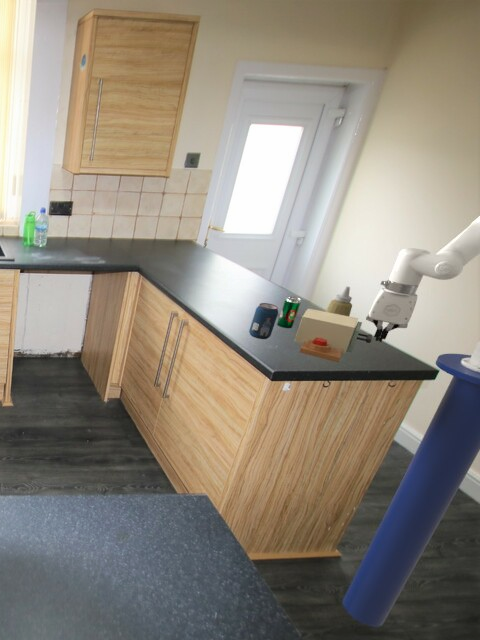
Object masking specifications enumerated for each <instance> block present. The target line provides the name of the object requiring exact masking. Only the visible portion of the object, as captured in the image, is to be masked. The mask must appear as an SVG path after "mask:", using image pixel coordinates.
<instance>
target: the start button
mask: <svg viewBox="0 0 480 640" xmlns="http://www.w3.org/2000/svg"><path fill="white" fill-rule="evenodd" d="M313 343H314V344H316V345H320V346H326V344H327V340H325V339H322V338H315V339H314V342H313Z"/></svg>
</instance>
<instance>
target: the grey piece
mask: <svg viewBox="0 0 480 640" xmlns="http://www.w3.org/2000/svg"><path fill="white" fill-rule="evenodd" d="M362 325H363V321H357V323H356V326H355V329H354V332H353V334H352V337H351V339H350V342H349V345H348V347H347V350H346V353H352V351H353V349H354V346H355V344H356V342H357V340H360V341H363V342H366V343H367V344H370V343H371V342H372V339H373V334H371V333H370V334H366V333H365V334H364V333H361V332H360V331H361V328H362ZM359 336H361V337H359Z"/></svg>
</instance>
